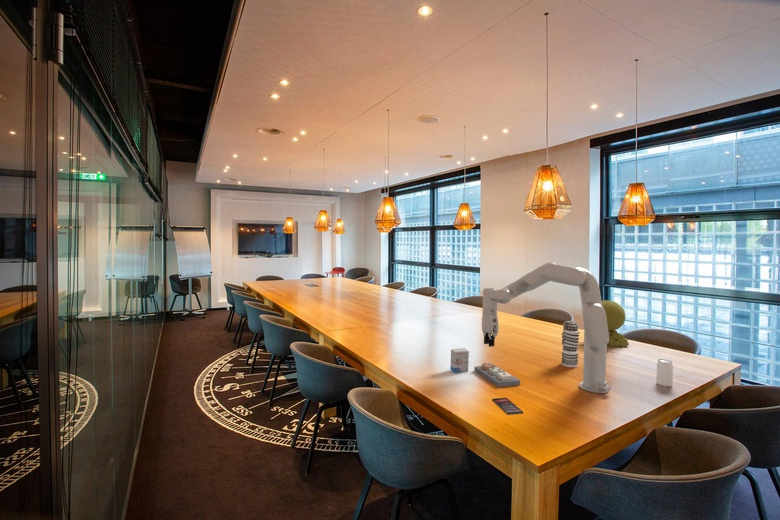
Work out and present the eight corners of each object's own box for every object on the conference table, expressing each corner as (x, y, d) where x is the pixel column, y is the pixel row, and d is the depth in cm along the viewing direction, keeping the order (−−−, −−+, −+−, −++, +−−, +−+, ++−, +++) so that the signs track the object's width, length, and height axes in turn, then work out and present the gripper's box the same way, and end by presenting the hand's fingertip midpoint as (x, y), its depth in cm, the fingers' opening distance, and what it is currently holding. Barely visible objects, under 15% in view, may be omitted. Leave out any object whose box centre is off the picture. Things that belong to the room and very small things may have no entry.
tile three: (495, 370, 201) (495, 365, 201) (486, 371, 199) (486, 366, 199) (490, 367, 206) (490, 362, 206) (481, 367, 204) (481, 363, 204)
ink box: (454, 373, 202) (454, 351, 201) (450, 370, 206) (450, 348, 206) (468, 371, 204) (469, 350, 203) (464, 368, 209) (464, 347, 208)
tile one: (511, 380, 186) (511, 374, 186) (502, 381, 185) (502, 375, 185) (505, 376, 191) (506, 371, 191) (496, 377, 190) (496, 372, 190)
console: (520, 385, 186) (520, 380, 186) (498, 387, 182) (498, 382, 182) (493, 369, 209) (494, 364, 209) (474, 370, 205) (474, 366, 205)
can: (656, 381, 192) (657, 357, 191) (672, 384, 188) (673, 360, 187) (655, 384, 187) (656, 361, 186) (671, 388, 183) (672, 363, 182)
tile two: (503, 375, 194) (503, 369, 194) (494, 376, 192) (494, 370, 192) (497, 371, 199) (497, 366, 198) (489, 372, 197) (489, 367, 197)
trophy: (582, 338, 275) (583, 297, 274) (613, 339, 274) (614, 298, 273) (598, 347, 253) (599, 303, 251) (631, 347, 252) (633, 303, 250)
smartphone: (506, 397, 170) (524, 412, 155) (506, 399, 170) (524, 414, 155) (491, 398, 169) (507, 413, 154) (491, 400, 169) (507, 415, 154)
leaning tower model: (580, 368, 211) (582, 324, 210) (563, 366, 213) (564, 323, 211) (576, 362, 220) (577, 320, 219) (559, 361, 222) (560, 319, 220)
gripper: (504, 313, 194) (503, 348, 195) (487, 308, 210) (487, 340, 211) (491, 314, 192) (491, 349, 193) (475, 308, 208) (475, 341, 209)
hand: (489, 344), depth 202 cm, fingers open, 4 cm apart
